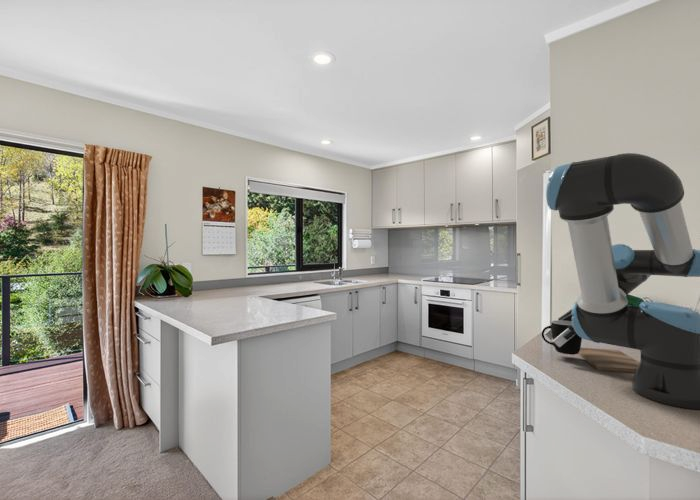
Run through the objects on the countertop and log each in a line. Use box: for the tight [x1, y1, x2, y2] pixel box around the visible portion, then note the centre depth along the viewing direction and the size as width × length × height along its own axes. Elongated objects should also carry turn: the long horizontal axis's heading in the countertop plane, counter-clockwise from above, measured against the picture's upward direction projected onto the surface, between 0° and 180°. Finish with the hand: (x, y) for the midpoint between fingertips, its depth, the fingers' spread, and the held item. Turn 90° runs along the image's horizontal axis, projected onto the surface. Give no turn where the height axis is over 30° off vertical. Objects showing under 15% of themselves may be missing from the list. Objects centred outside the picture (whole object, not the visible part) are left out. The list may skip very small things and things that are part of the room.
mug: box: [541, 319, 583, 356], centre depth 116 cm, size 12×9×10 cm
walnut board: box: [577, 347, 640, 374], centre depth 112 cm, size 20×14×1 cm
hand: (551, 340), depth 116 cm, fingers closed on mug, 9 cm apart
